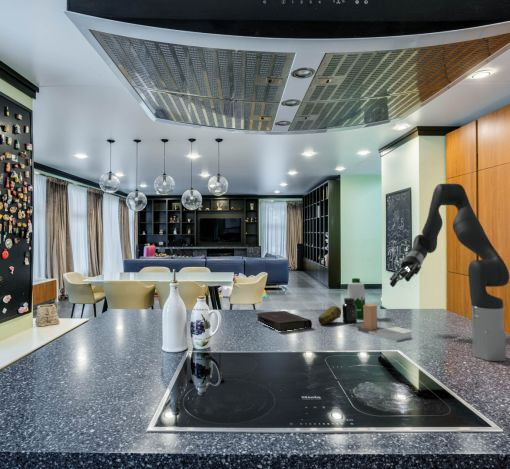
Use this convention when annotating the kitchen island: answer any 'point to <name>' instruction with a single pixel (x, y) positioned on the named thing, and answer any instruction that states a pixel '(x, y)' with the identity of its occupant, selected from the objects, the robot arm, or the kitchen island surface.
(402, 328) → the pad
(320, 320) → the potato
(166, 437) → the kitchen island surface
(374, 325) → the block
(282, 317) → the diary
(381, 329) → the grey slotted base
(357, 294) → the green and white bottle
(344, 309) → the supplement bottle
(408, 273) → the robot arm
